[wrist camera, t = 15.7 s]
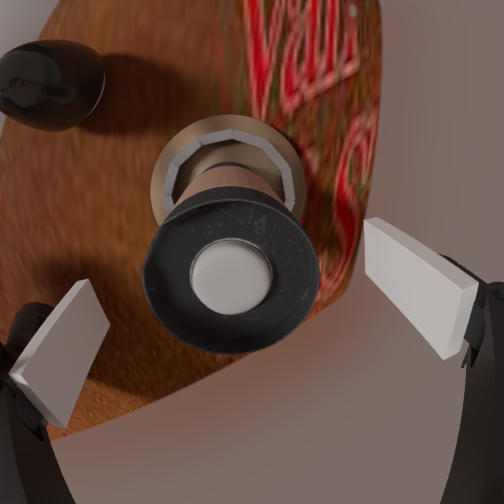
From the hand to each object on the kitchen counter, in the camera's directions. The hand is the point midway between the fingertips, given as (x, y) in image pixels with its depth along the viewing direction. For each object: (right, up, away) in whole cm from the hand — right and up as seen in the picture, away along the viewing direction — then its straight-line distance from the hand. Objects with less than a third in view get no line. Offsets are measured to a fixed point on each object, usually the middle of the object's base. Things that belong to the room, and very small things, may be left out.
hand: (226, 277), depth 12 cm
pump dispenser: (-19, +20, +12) cm, 31 cm away
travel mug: (-1, +7, +18) cm, 19 cm away
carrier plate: (-2, +8, +19) cm, 21 cm away
